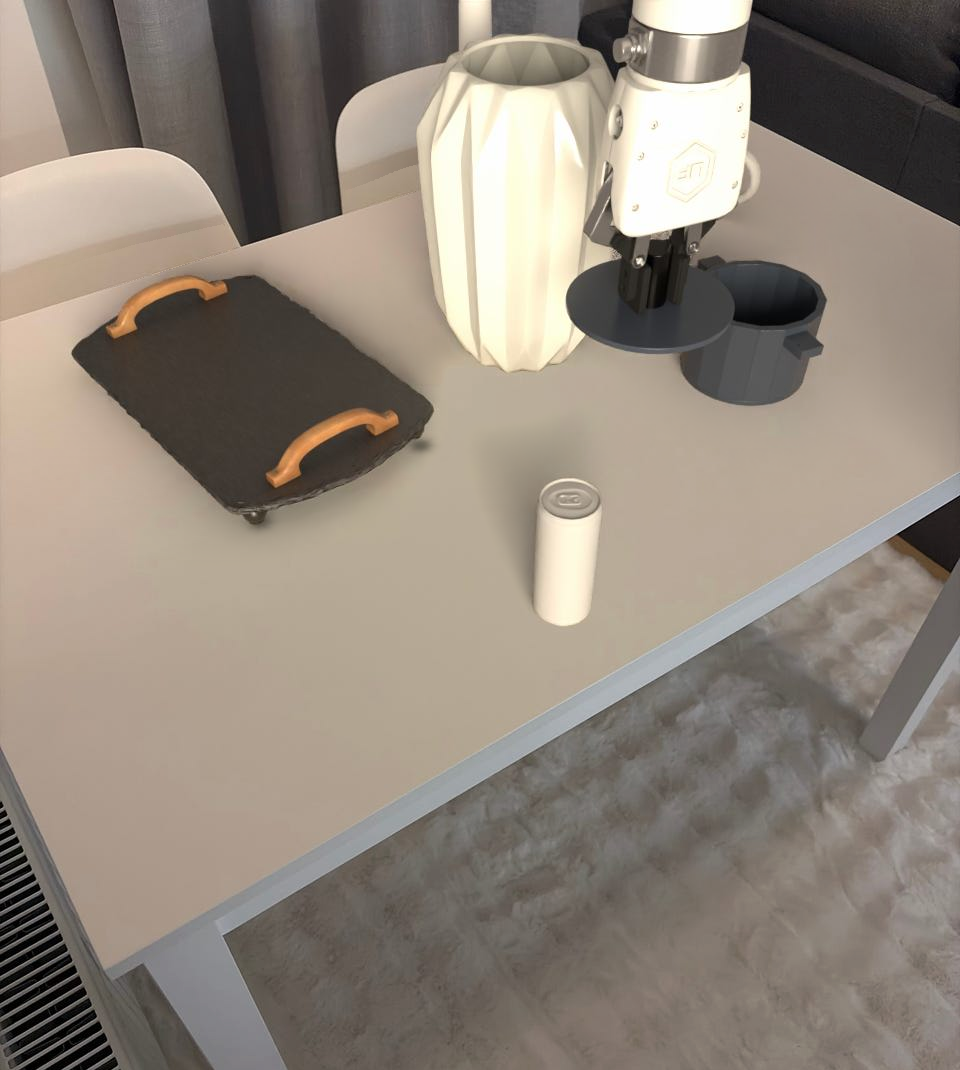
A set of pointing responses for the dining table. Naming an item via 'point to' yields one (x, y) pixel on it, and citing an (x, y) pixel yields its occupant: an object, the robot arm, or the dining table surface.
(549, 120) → the vase
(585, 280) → the lid
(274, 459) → the serving tray
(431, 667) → the dining table surface
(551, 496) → the beverage can
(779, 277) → the pot
